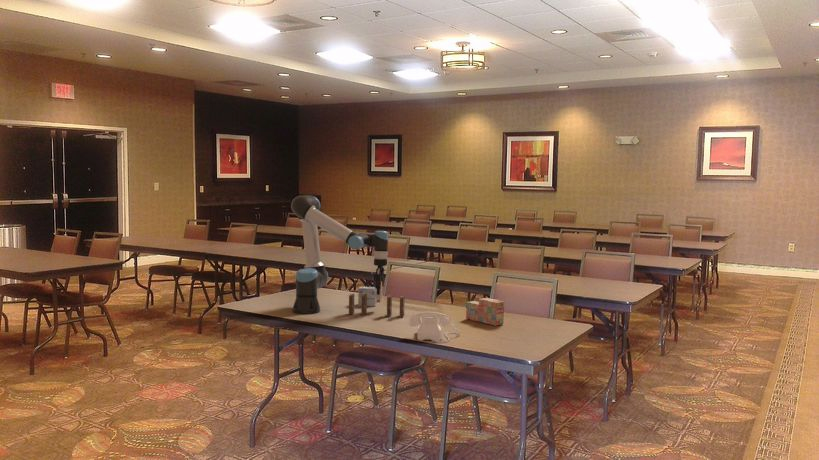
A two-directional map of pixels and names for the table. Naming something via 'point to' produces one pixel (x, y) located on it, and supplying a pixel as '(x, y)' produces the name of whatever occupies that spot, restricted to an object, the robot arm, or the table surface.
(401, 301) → the walnut domino
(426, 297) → the table surface
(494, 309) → the stack of blocks
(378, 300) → the terracotta domino
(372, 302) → the light bulb box
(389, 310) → the walnut domino
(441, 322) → the telephone
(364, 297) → the walnut domino
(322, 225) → the robot arm
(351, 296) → the walnut domino
